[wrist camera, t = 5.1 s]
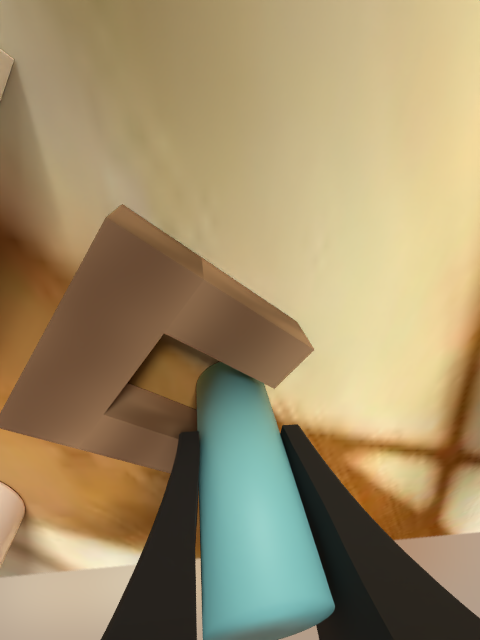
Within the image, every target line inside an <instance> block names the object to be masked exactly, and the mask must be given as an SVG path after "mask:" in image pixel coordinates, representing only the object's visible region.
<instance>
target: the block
mask: <svg viewBox="0 0 480 640" xmlns="http://www.w3.org/2000/svg"><path fill="white" fill-rule="evenodd" d="M163 334H166V335H168V336H170V337H172V338H174V339H176V340H178V341H180V342H182V343H184V344H186V345H188V346H190V347H192V348H194V349H196V350H198V351H200V352H202V353H204V354H206V355H208V356H210V357H212V358H214V359H216V360H218V361H220V362H222V363H224V364H226V365H228V366H230V367H232V368H234V369H236V370H238V371H240V372H242V373H244V374H246V375H248V376H250V377H252V378H254V379H256V380H258V381H260V382H262V383H264V384H266V385H268V386H270V387H272V388H274V389H275V388H276V387H277V386H278V385H279V384H280V383H281V382H282V381H283V380H284V379H285V378H286V377H287V376H288V375H289V374H290V373H291V372H292V371H293V370H294V369H295V368H296V367H297V366H298V365H299V364H300V363H301V362H302V361H303V360H304V359H305V358H306V357H307V356H308V355H309V354H310V353H311V352H312V351H314V348H313V347H312V345H311V343H310V342H309V340H308V339H307V337H306V335H305V334H304V332H303V331H302V329H301V327H300V326H299V324H298V323H297V322H296V321H295V320H293V319H292V318H290V317H289V316H288V315H286V314H285V313H283V312H282V311H280V310H279V309H277V308H276V307H274V306H273V305H271V304H270V303H268V302H267V301H265V300H264V299H262V298H261V297H259V296H258V295H256V294H255V293H253V292H252V291H250V290H249V289H247V288H246V287H244V286H243V285H241V284H240V283H239V282H237V281H236V280H234V279H233V278H231V277H230V276H228V275H227V274H225V273H224V272H222V271H221V270H219V269H218V268H216V267H215V266H213V265H212V264H210V263H209V262H207V261H206V260H204V259H203V258H201V257H200V256H198V255H197V254H195V253H194V252H192V251H191V250H190V249H188V248H187V247H185V246H184V245H182V244H181V243H179V242H178V241H176V240H175V239H173V238H172V237H170V236H169V235H167V234H166V233H164V232H163V231H161V230H160V229H158V228H157V227H155V226H154V225H152V224H151V223H149V222H148V221H146V220H145V219H143V218H142V217H141V216H139V215H138V214H136V213H135V212H133V211H132V210H130V209H129V208H127V207H126V206H124V205H123V204H122V205H121V206H120V207H118V208H117V209H116V210H115V211H113V212H112V213H111V214H109V215H108V216H107V217H106V218H105V220H104V222H103V224H102V226H101V228H100V229H99V231H98V233H97V235H96V237H95V239H94V241H93V242H92V244H91V246H90V248H89V250H88V252H87V254H86V255H85V257H84V259H83V261H82V263H81V265H80V267H79V268H78V270H77V272H76V274H75V276H74V278H73V279H72V281H71V283H70V285H69V287H68V289H67V291H66V292H65V294H64V296H63V298H62V300H61V302H60V304H59V305H58V307H57V309H56V311H55V313H54V315H53V317H52V318H51V320H50V322H49V324H48V326H47V328H46V329H45V331H44V333H43V335H42V337H41V339H40V341H39V342H38V344H37V346H36V348H35V350H34V352H33V354H32V355H31V357H30V359H29V361H28V363H27V365H26V367H25V368H24V370H23V372H22V374H21V376H20V378H19V380H18V381H17V383H16V385H15V387H14V389H13V391H12V392H11V394H10V396H9V398H8V400H7V402H6V404H5V405H4V407H3V409H2V411H1V413H0V428H1V429H4V430H8V431H12V432H16V433H20V434H23V435H27V436H31V437H35V438H39V439H42V440H46V441H50V442H54V443H57V444H61V445H65V446H69V447H73V448H76V449H80V450H84V451H88V452H92V453H95V454H99V455H103V456H107V457H110V458H114V459H118V460H122V461H126V462H129V463H133V464H137V465H141V466H145V467H148V468H152V469H156V470H160V471H163V472H167V473H171V471H172V468H173V464H174V460H175V456H176V452H177V446H178V440H179V434H180V433H182V432H192V431H197V410H195V409H193V408H190V407H188V406H185V405H183V404H180V403H177V402H175V401H172V400H170V399H167V398H165V397H162V396H160V395H157V394H154V393H152V392H149V391H147V390H144V389H142V388H139V387H137V386H134V385H131V384H129V383H127V382H128V381H129V380H130V378H131V377H132V376H133V374H134V373H135V372H136V370H137V369H138V368H139V366H140V365H141V364H142V362H143V361H144V360H145V358H146V357H147V356H148V354H149V353H150V352H151V350H152V349H153V347H154V346H155V345H156V343H157V342H158V341H159V339H160V338H161V337H162V335H163Z"/></svg>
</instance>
